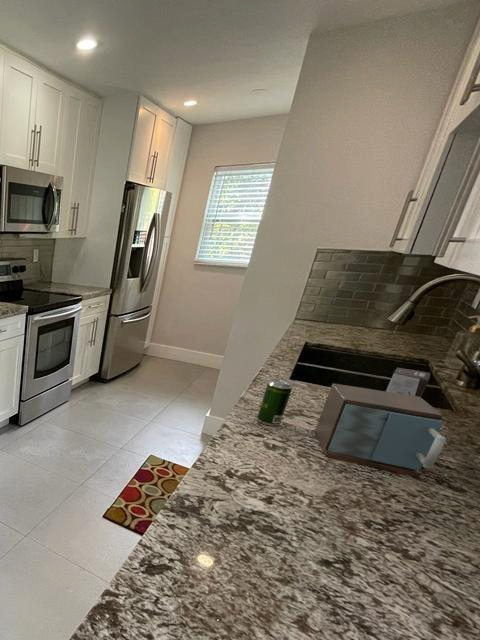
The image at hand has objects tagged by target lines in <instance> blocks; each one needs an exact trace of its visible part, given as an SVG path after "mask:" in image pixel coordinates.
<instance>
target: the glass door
mask: <svg viewBox="0 0 480 640" xmlns="http://www.w3.org/2000/svg"><path fill="white" fill-rule="evenodd" d="M443 424H444V421H443V420H442V419H441V420H435V419H429V418H423V417H417V416H411V415H406V414H400V413H394V412H390V415H389V417H388V419H387V421H386V424H385V426H384V428H383V431H382V433H381V435H380V438H379V440H378V442H377V444H376V447H375V449H374V451H373V454H372V456H371V458H370V459H371V460H372V461H377V462H382V463H386V464H391V465H396V466H400V467H405V468H410V469H414V470H418V471H420V470H421V469H422V467H424V468H425V469H432V468H433V467H434V466H435V463H436V461H437V459H438V457H439V455H440V453H441V451H442V449H443V447H444V445H445V443H446V441H447V438H446V436H443V435H442V434H440V433H439V431H440V429H441V427H442V425H443Z"/></svg>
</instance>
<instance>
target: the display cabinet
mask: <svg viewBox="0 0 480 640" xmlns="http://www.w3.org/2000/svg"><path fill="white" fill-rule="evenodd" d="M390 412H394V413H400V414H406V415H411V416H417V417H423V418H429V419H435V420H441V421H442V419H443V417H444V415H443V414H442V413H441V412H439V411H438V410H437V409H436V408H435V407H433V406H432V405H430V404H429V403H428V402H427V401H426V400H425V399H423V398H422V396H421V397H418V396H411V395H405V394H398V393H392V392H386V390H378V389H372V388H365V387H359V386H353V385H345V384H340V383H332V384H331V386H330V389H329V391H328V394H327V397H326V400H325V402H324V405H323V408H322V411H321V413H320V416H319V418H318V421H317V424H316V427H315V429H314V432H313V433H314V435H315V439H316V440H317V442H318V444H319V446H320V448H321V450H322V452H323V454H324V456H325V457H326V458H330V459H334V460H335V459H336V460H339V461H342V462H343V461H344V462H349V463H354V464H356V465H363V466H367V467H370V468H371V467H372V468H375V469H381V470H384V471H389V472H394V473H399V474H403V475H408V476H413V477H417V478H419V477H421V476H420V475H421V472H420V470H414V469H410V468H405V467H400V466H396V465H391V464H386V463H382V462H377V461H372V460H371V459H370V458H371V456H372V454H373V451H374V449H375V447H376V444H377V442H378V440H379V438H380V435H381V433H382V431H383V428H384V426H385V424H386V421H387V419H388V417H389V415H390Z"/></svg>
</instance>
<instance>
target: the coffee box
mask: <svg viewBox="0 0 480 640" xmlns="http://www.w3.org/2000/svg"><path fill="white" fill-rule="evenodd" d="M430 376H431V372H427V371H422V370H416V369H415V370H414V369H407V368H402V367H396V369H395V370H394V372H393V373H392V376H391V378H390V380H389V383H388V385H387V387H386V390H385V392H392V393H398V394H405V395H411V396H418V397H421V398H422V396H423V394H424V392H425V390H426V387H427V385H428V383H429V381H430V378H431V377H430Z"/></svg>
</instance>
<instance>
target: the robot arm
mask: <svg viewBox="0 0 480 640" xmlns="http://www.w3.org/2000/svg"><path fill="white" fill-rule="evenodd" d="M473 366H474V367H475V368H476V370H477V372H478V373H479V374H480V359H476V360H475V361H474V362H473Z"/></svg>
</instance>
